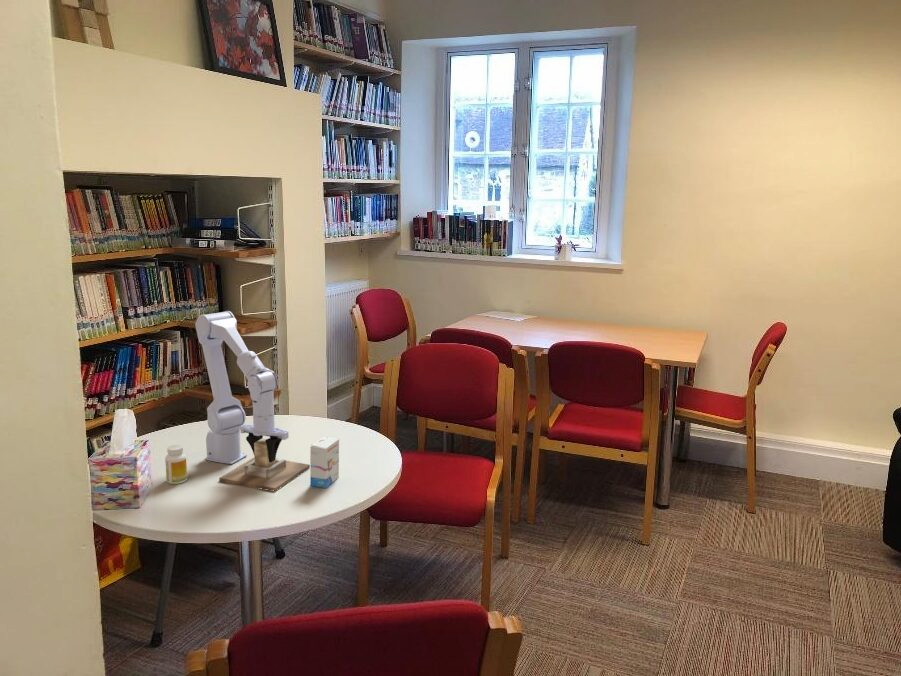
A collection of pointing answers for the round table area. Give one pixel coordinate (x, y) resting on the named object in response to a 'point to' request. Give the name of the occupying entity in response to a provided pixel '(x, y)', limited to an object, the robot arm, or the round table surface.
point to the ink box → (324, 462)
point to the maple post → (262, 454)
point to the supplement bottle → (176, 465)
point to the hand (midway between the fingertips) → (265, 459)
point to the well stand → (265, 474)
